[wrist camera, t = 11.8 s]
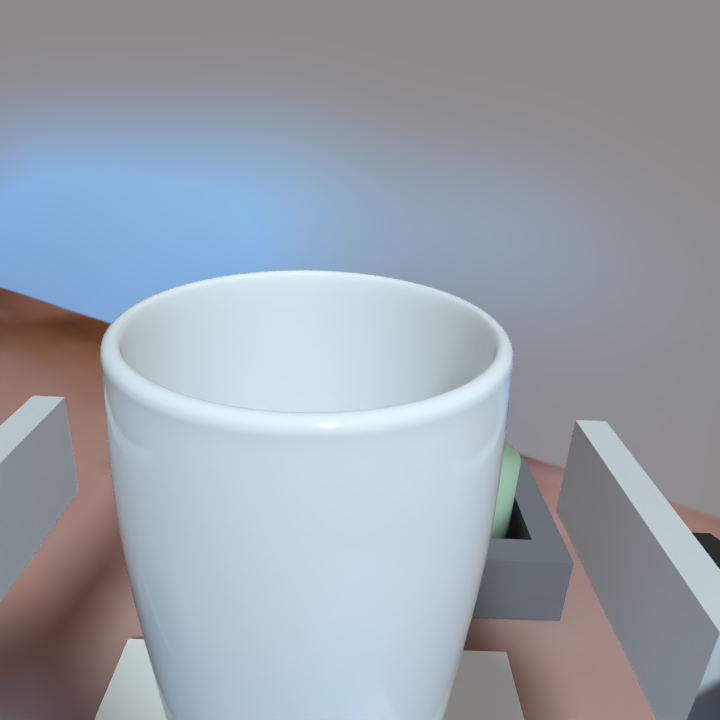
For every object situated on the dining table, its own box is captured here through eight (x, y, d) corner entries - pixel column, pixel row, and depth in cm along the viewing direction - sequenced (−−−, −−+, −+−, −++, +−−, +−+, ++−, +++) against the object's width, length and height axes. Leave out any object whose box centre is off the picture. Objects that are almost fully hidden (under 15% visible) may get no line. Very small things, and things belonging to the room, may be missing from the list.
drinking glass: (131, 1019, 13) (-10, 407, 7) (214, 723, 19) (175, 259, 13) (445, 1045, 13) (573, 441, 7) (428, 738, 19) (487, 276, 13)
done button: (414, 559, 26) (423, 479, 24) (406, 497, 30) (413, 425, 28) (517, 563, 26) (532, 484, 25) (495, 500, 30) (507, 429, 29)
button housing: (375, 613, 25) (380, 555, 24) (371, 501, 32) (374, 452, 31) (559, 620, 25) (573, 562, 24) (515, 507, 32) (524, 458, 31)
